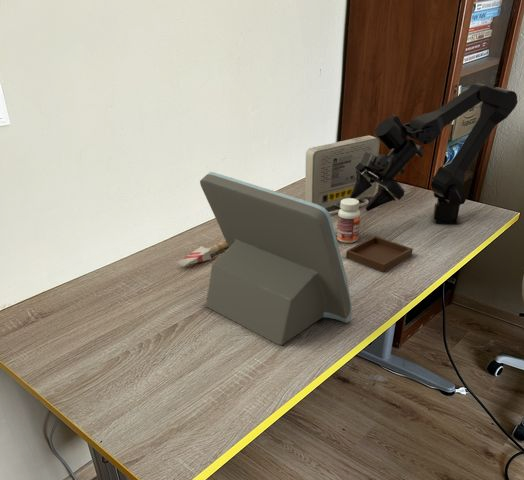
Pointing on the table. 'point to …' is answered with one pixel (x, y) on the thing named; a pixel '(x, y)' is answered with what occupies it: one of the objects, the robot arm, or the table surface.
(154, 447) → the table surface
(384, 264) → the walnut tray
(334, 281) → the touchscreen device
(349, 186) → the network device
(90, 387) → the table surface
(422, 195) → the table surface
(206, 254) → the chopstick bundle
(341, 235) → the pill bottle
